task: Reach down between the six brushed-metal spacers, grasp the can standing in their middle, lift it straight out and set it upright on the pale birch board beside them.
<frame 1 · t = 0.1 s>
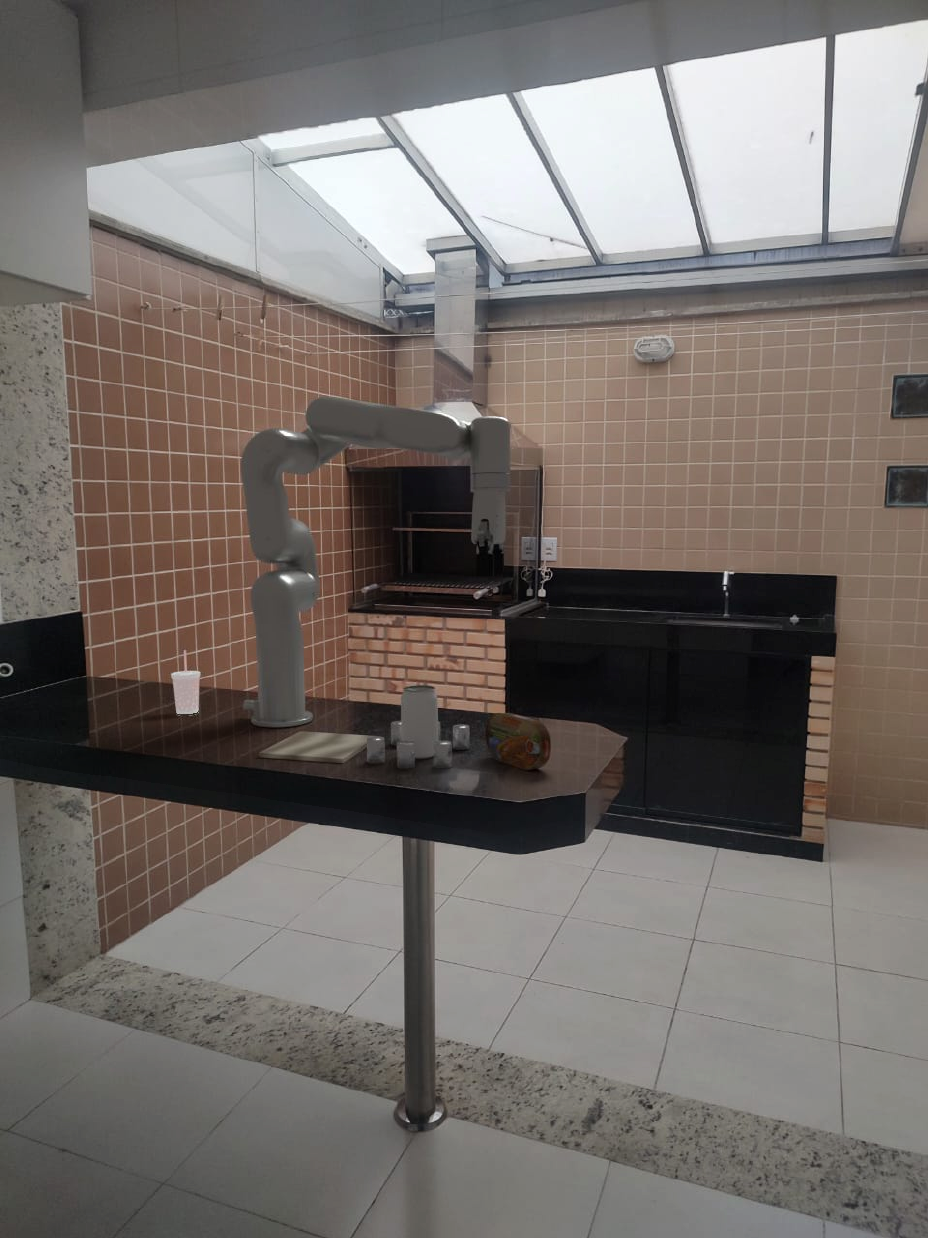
hand: (490, 574, 155), 31 cm above the counter, tool pointing down, fingers open, 9 cm apart
can: (419, 755, 144), on the counter
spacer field: (419, 754, 144), on the counter
tin: (517, 765, 138), on the counter
board: (320, 748, 149), on the counter
beverage cup: (187, 714, 178), on the counter
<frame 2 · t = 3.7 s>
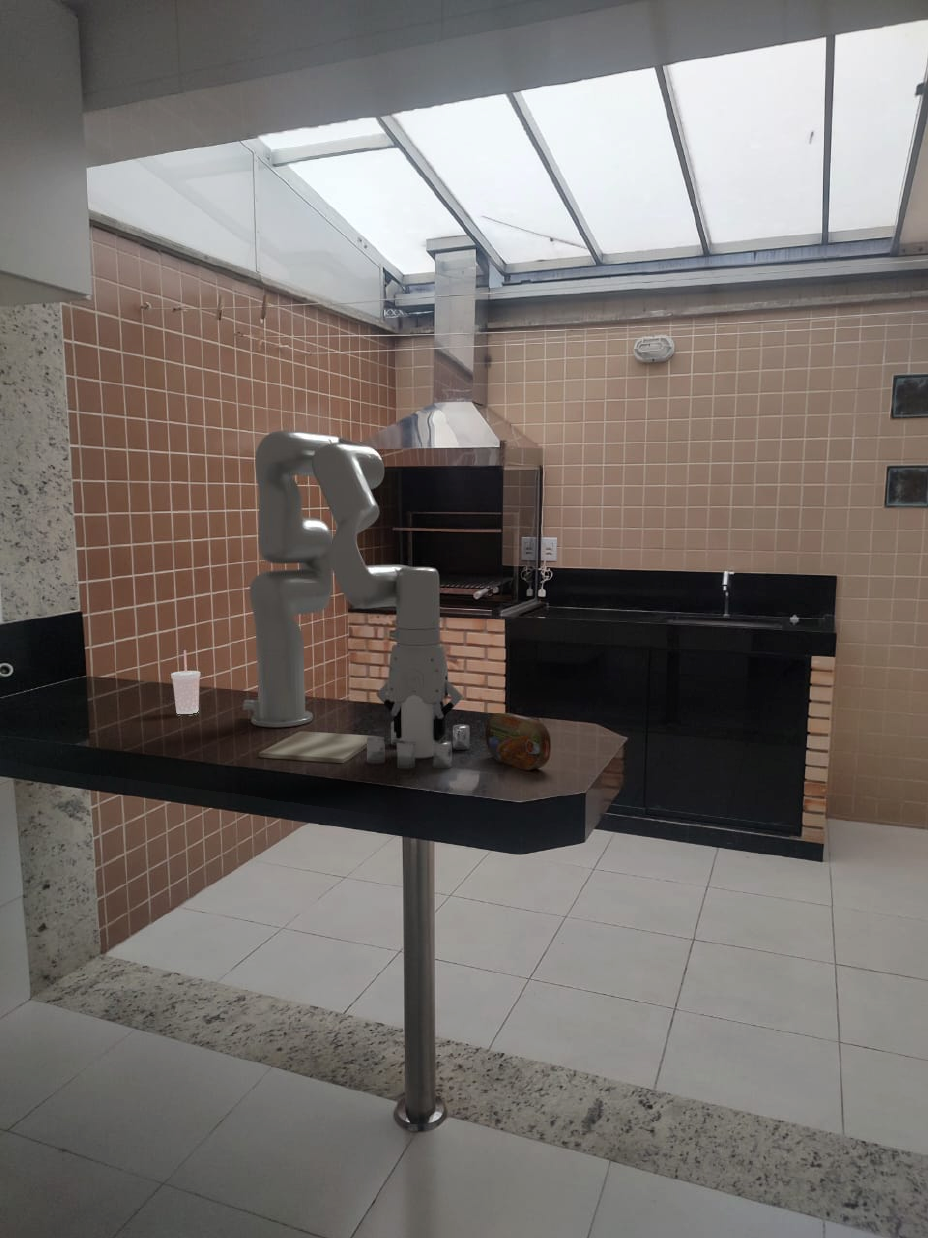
hand: (419, 737, 144), 3 cm above the counter, tool pointing down, fingers closed on can, 6 cm apart
can: (420, 755, 144), on the counter, touching gripper
everything else where it was.
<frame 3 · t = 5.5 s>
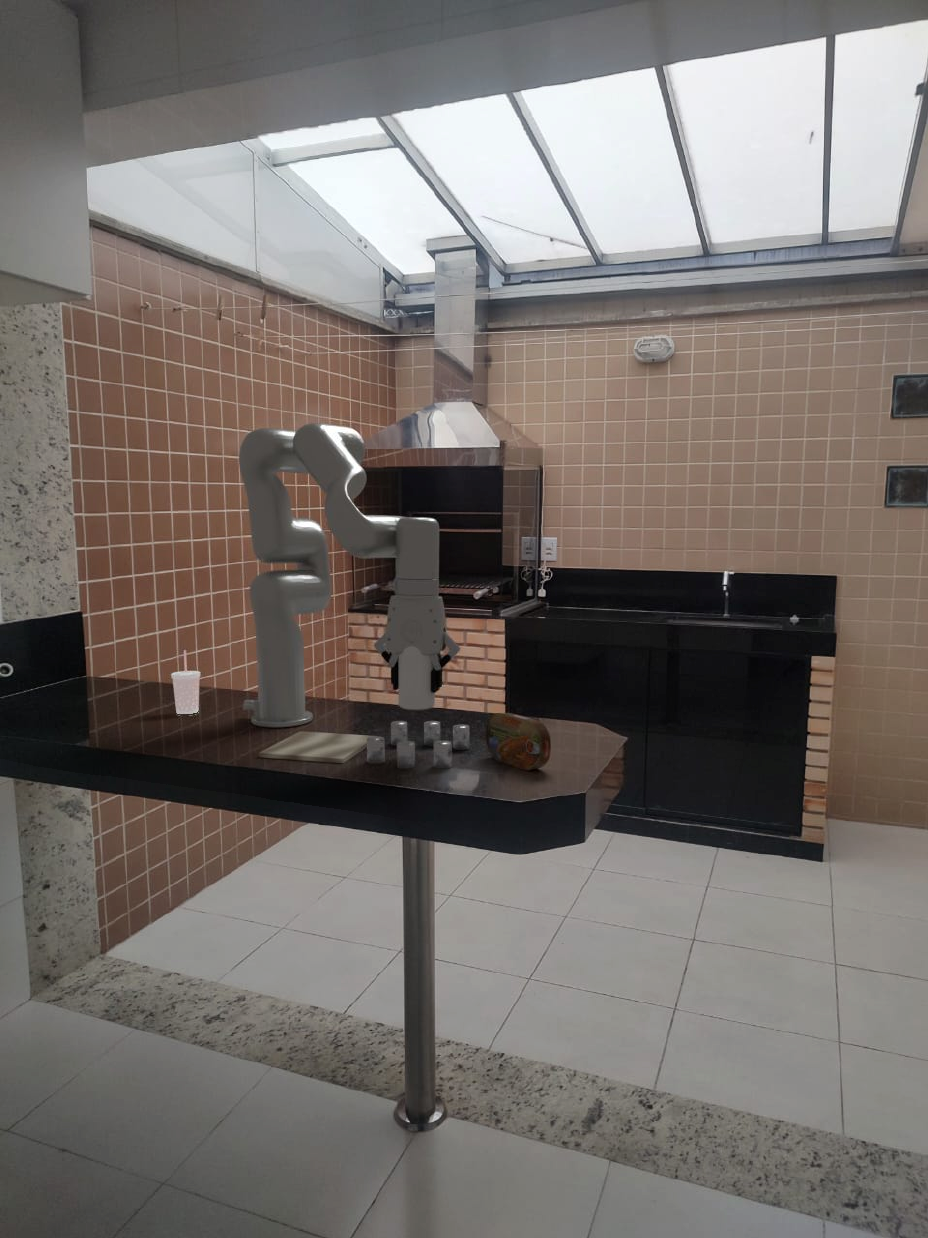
hand: (416, 688, 143), 12 cm above the counter, tool pointing down, fingers closed on can, 6 cm apart
can: (416, 707, 144), point 8 cm above the counter, touching gripper
everything else where it was.
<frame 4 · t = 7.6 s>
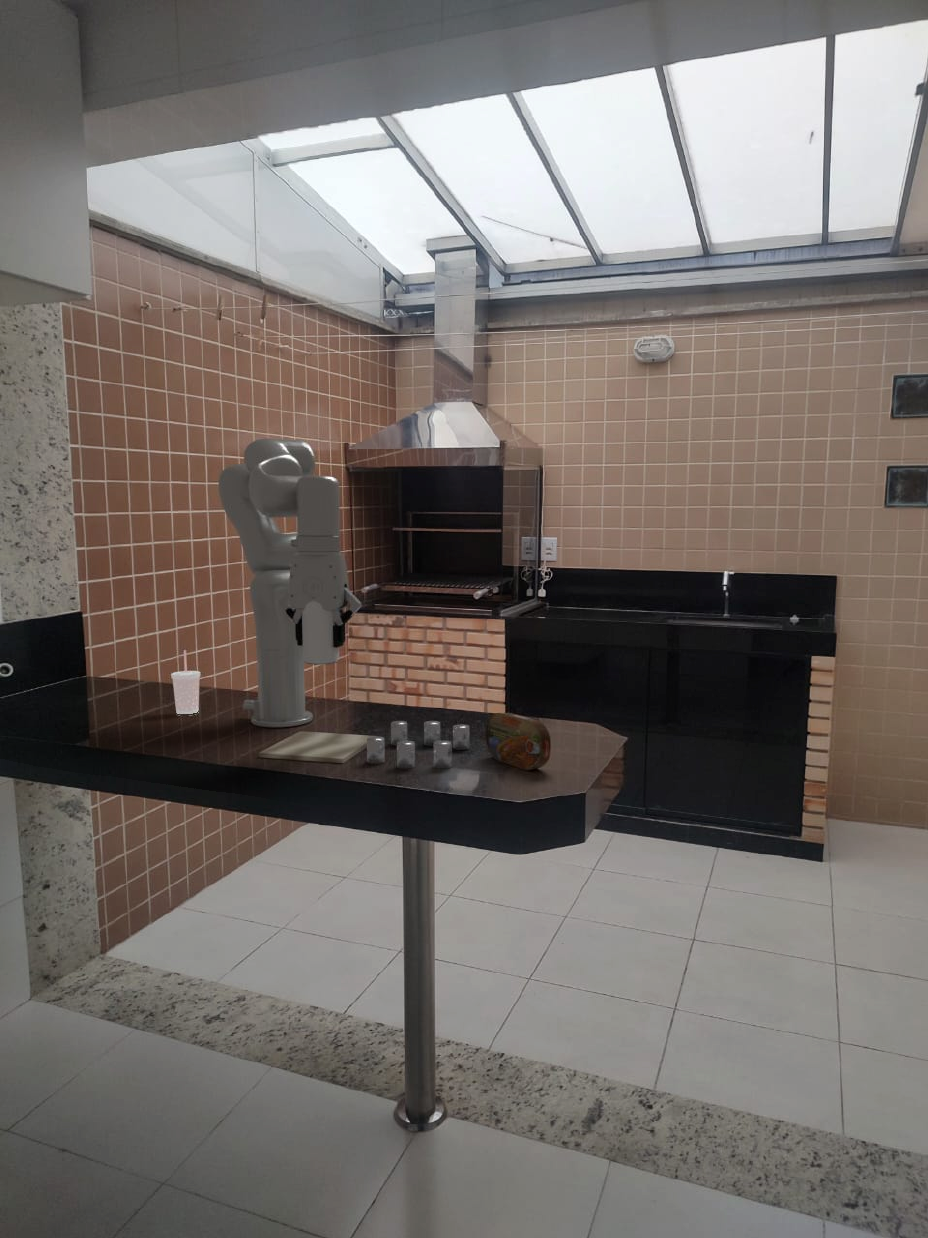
hand: (320, 644, 147), 19 cm above the counter, tool pointing down, fingers closed on can, 6 cm apart
can: (321, 662, 147), point 16 cm above the counter, touching gripper
everything else where it was.
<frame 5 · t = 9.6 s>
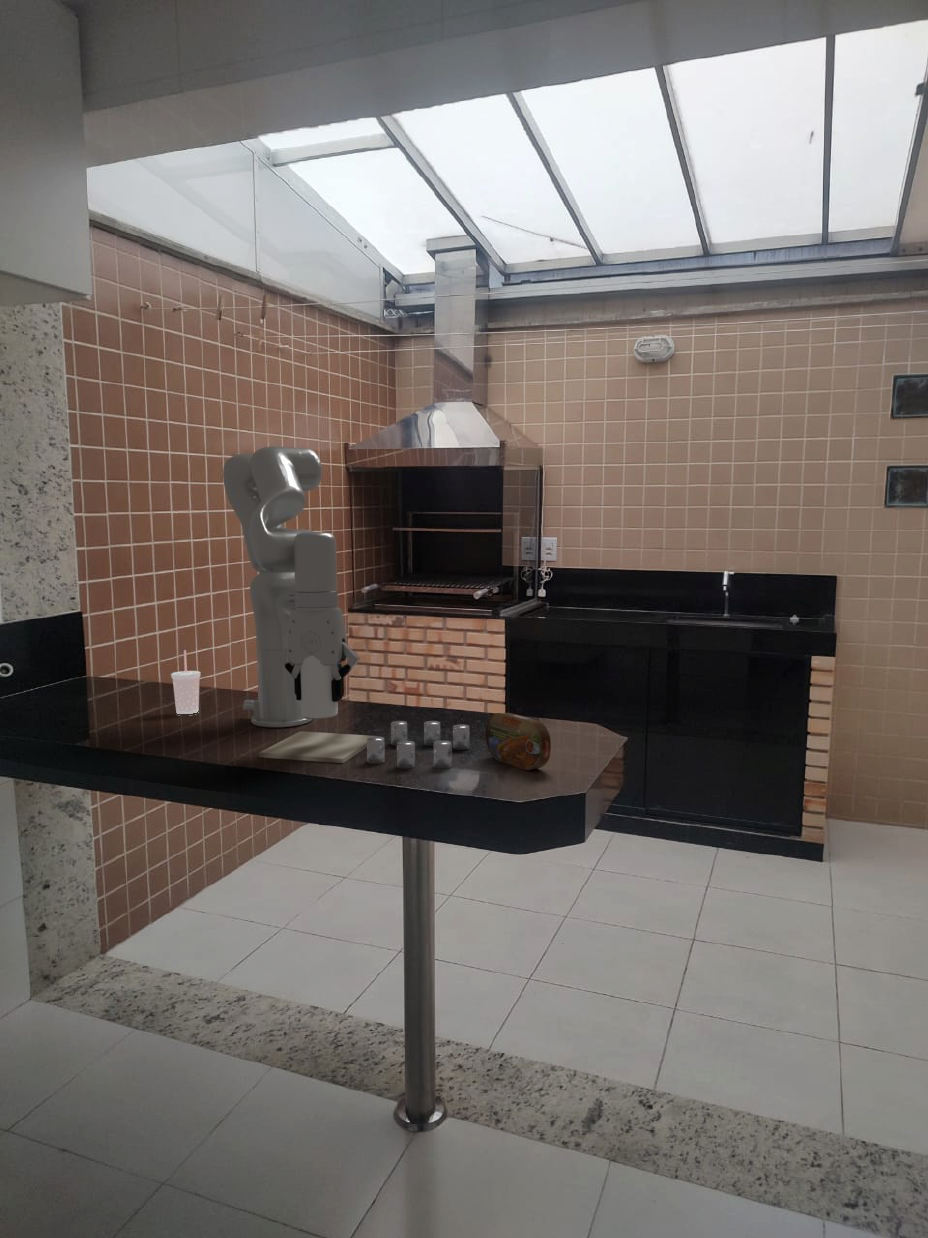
hand: (319, 698, 148), 9 cm above the counter, tool pointing down, fingers closed on can, 6 cm apart
can: (320, 717, 148), point 6 cm above the counter, touching gripper
everything else where it was.
when the fingers open (5 cm above the counter, at t = 11.4 s): can drops 1 cm, resting on board.
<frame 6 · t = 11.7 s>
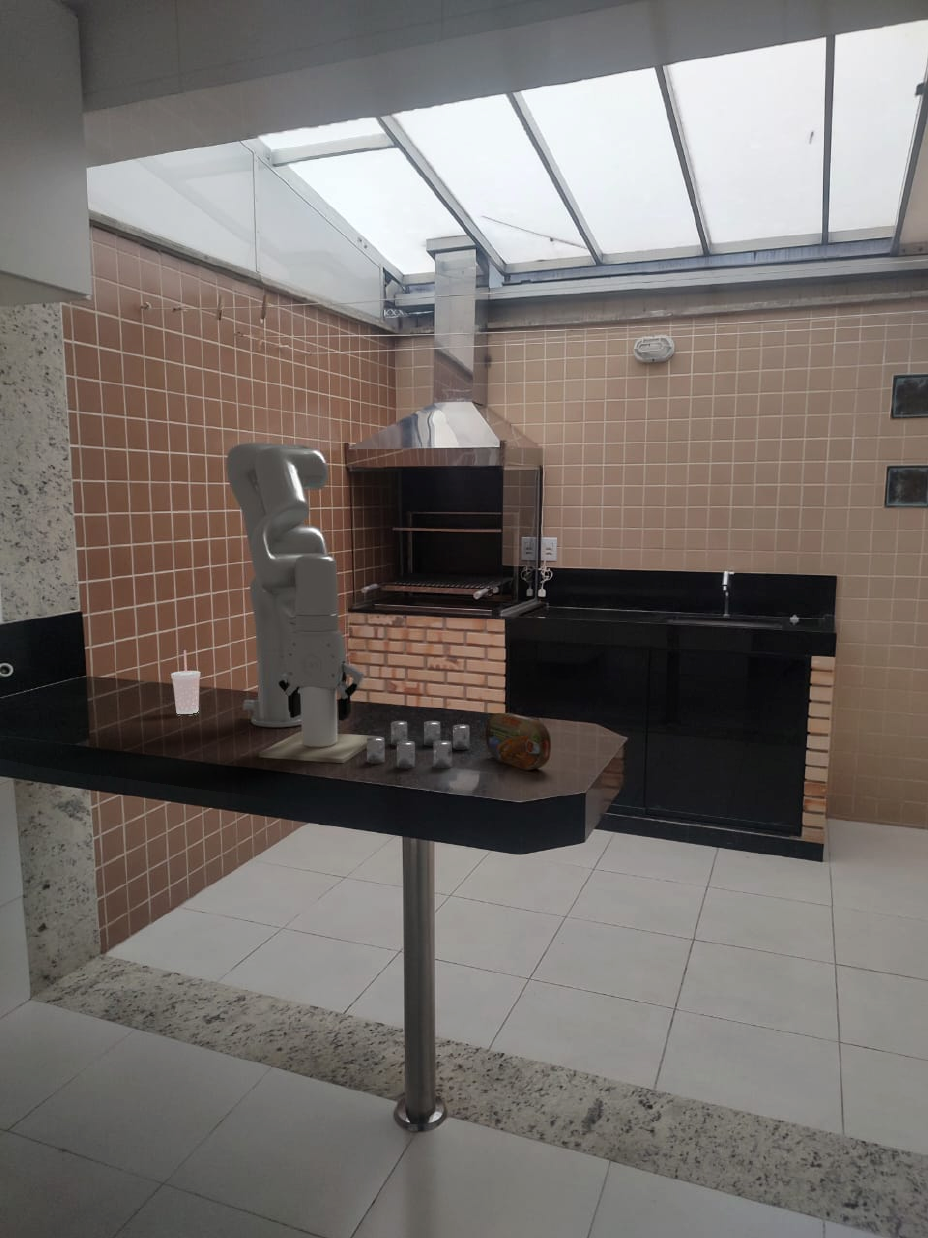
hand: (319, 717, 148), 6 cm above the counter, tool pointing down, fingers open, 9 cm apart
can: (319, 744, 149), point 1 cm above the counter, touching board
everything else where it was.
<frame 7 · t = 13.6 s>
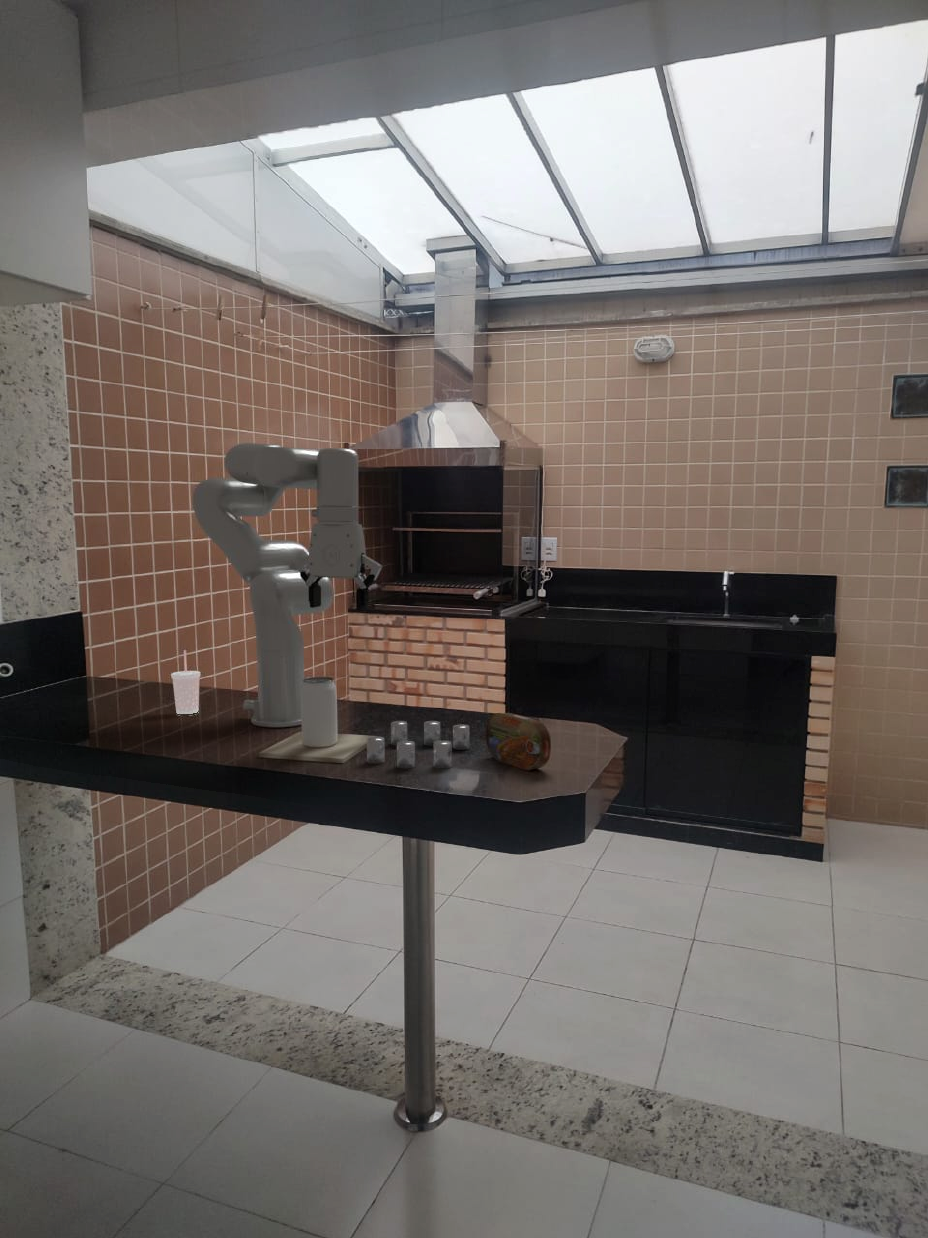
hand: (338, 608, 153), 25 cm above the counter, tool pointing down, fingers open, 9 cm apart
nothing on the counter moved.
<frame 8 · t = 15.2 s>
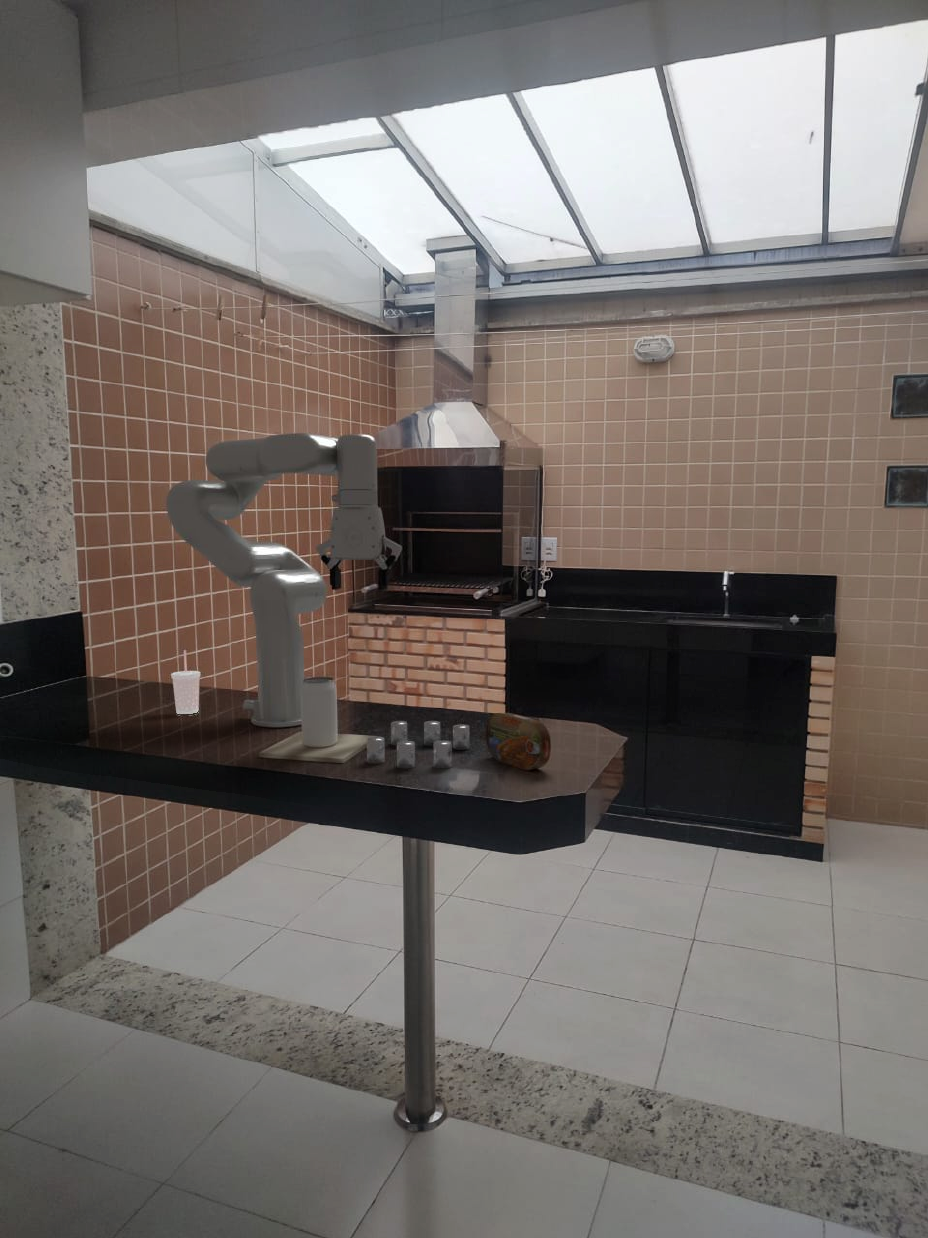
hand: (359, 589, 157), 28 cm above the counter, tool pointing down, fingers open, 9 cm apart
nothing on the counter moved.
at the end: can inside the target area on the board (0.1 cm from its centre), point 0.6 cm above the board's base; can tilted 0°; the gripper is holding nothing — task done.
